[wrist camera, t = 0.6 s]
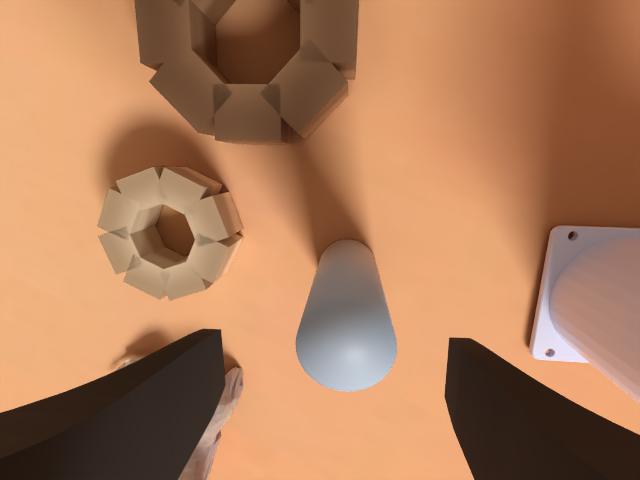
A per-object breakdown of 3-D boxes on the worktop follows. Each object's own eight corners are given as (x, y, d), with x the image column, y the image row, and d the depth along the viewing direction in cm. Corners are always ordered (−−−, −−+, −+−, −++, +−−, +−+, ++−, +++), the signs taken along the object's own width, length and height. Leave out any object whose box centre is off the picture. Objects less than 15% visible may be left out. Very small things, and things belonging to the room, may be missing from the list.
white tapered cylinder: (377, 240, 19) (400, 303, 11) (374, 294, 20) (393, 395, 11) (319, 238, 20) (296, 297, 11) (318, 291, 20) (295, 387, 12)
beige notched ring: (214, 152, 19) (194, 151, 17) (257, 264, 20) (244, 277, 18) (111, 191, 20) (78, 195, 18) (158, 294, 21) (133, 311, 19)
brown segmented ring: (361, -69, 16) (363, -120, 13) (352, 145, 18) (352, 142, 15) (163, -62, 17) (124, -109, 14) (178, 142, 19) (147, 139, 16)
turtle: (173, 475, 29) (143, 646, 20) (47, 463, 25) (-56, 662, 17) (247, 339, 25) (251, 476, 16) (110, 301, 21) (17, 451, 12)
